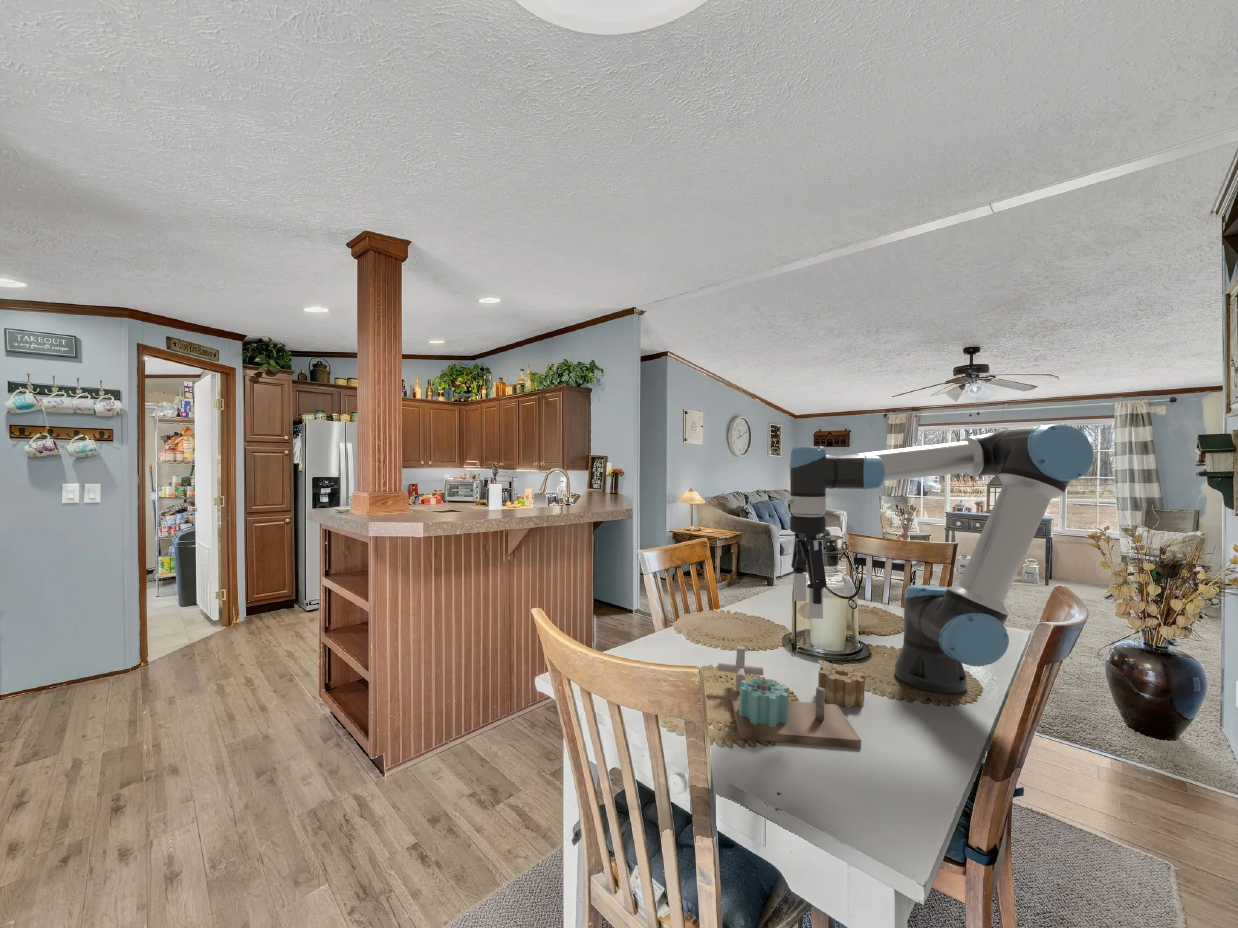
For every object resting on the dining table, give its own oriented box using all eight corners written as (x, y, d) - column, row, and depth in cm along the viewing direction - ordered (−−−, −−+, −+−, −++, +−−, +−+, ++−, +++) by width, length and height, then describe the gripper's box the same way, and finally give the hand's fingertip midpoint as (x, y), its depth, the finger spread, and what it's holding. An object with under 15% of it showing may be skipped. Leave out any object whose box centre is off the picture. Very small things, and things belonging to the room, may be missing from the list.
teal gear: (776, 702, 109) (777, 676, 109) (796, 726, 100) (797, 697, 100) (732, 703, 108) (733, 677, 108) (748, 727, 99) (749, 699, 99)
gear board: (836, 711, 109) (837, 676, 109) (860, 748, 96) (862, 707, 95) (731, 703, 112) (732, 669, 112) (739, 738, 98) (740, 699, 98)
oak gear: (855, 689, 120) (856, 665, 120) (871, 709, 111) (872, 683, 111) (813, 686, 121) (813, 663, 121) (825, 705, 112) (825, 680, 112)
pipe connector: (764, 703, 112) (765, 657, 112) (717, 698, 114) (718, 653, 114) (760, 684, 122) (761, 642, 122) (717, 679, 124) (718, 638, 124)
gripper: (779, 509, 129) (778, 594, 129) (804, 521, 104) (804, 625, 105) (810, 509, 128) (809, 594, 129) (843, 521, 104) (842, 627, 104)
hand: (807, 609), depth 117 cm, fingers open, 13 cm apart
